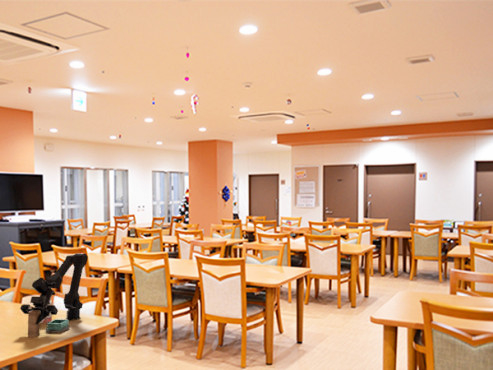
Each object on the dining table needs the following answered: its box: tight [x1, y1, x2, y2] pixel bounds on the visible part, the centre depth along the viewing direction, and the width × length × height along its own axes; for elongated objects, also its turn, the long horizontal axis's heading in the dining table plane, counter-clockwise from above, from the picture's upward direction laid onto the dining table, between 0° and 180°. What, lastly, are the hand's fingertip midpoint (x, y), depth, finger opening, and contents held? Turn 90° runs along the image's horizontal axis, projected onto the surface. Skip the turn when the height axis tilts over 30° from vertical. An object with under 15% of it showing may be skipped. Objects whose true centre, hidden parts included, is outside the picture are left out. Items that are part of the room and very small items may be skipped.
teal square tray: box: [45, 318, 70, 334], centre depth 233 cm, size 12×12×4 cm
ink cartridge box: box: [40, 297, 53, 324], centre depth 248 cm, size 9×5×15 cm, turn 105°
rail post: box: [27, 310, 41, 338], centre depth 223 cm, size 4×4×13 cm
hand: (32, 323), depth 221 cm, fingers closed on rail post, 4 cm apart
